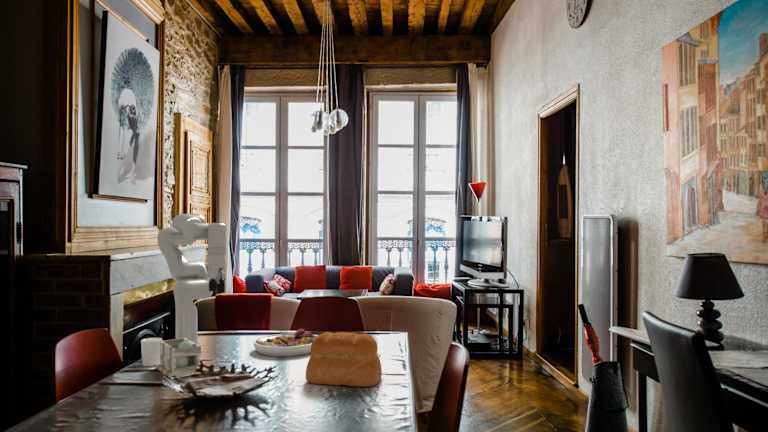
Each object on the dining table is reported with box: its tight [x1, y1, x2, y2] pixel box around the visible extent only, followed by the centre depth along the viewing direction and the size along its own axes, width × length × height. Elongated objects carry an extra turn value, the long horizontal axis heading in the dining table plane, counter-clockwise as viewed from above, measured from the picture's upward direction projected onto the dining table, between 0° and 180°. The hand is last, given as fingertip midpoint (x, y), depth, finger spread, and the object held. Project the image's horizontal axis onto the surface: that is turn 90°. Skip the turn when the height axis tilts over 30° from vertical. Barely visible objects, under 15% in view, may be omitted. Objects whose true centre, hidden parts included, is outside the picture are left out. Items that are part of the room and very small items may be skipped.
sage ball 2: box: [176, 357, 188, 368], centre depth 194 cm, size 6×6×6 cm
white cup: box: [140, 337, 163, 367], centre depth 210 cm, size 8×8×10 cm
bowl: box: [253, 328, 319, 358], centre depth 233 cm, size 30×30×8 cm
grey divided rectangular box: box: [155, 338, 202, 377], centre depth 199 cm, size 21×12×10 cm, turn 38°
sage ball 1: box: [178, 341, 193, 349], centre depth 197 cm, size 6×6×6 cm
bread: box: [305, 331, 383, 388], centre depth 185 cm, size 16×26×17 cm, turn 77°
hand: (216, 291), depth 219 cm, fingers open, 9 cm apart
